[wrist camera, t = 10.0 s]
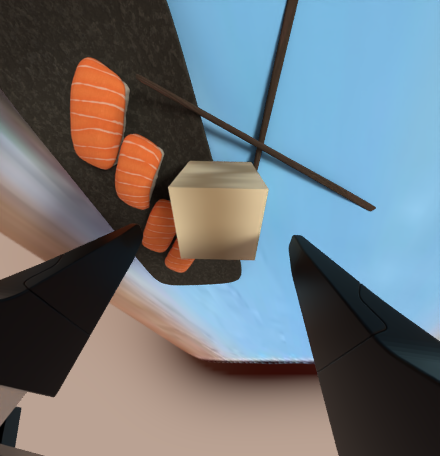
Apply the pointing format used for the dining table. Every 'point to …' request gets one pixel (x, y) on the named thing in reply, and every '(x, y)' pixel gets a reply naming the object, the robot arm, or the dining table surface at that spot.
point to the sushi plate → (123, 113)
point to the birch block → (218, 210)
